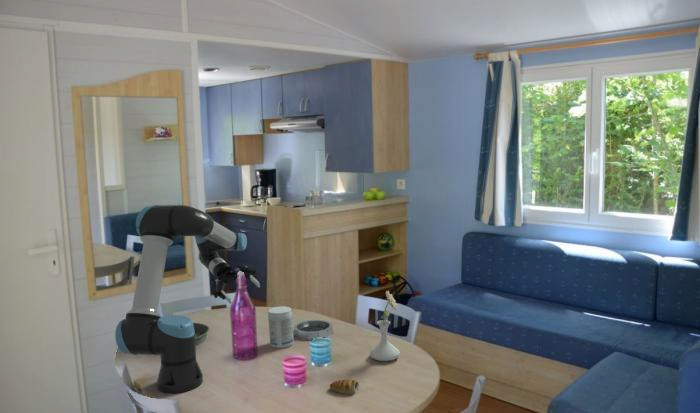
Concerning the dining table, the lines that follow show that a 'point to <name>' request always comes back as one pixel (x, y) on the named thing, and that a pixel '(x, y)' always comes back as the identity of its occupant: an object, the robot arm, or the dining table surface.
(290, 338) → the supplement tub
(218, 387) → the dining table surface
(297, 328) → the grey pet bowl
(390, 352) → the flower in vase
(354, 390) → the pastry
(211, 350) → the dining table surface
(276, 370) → the dining table surface
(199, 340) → the cake pan
